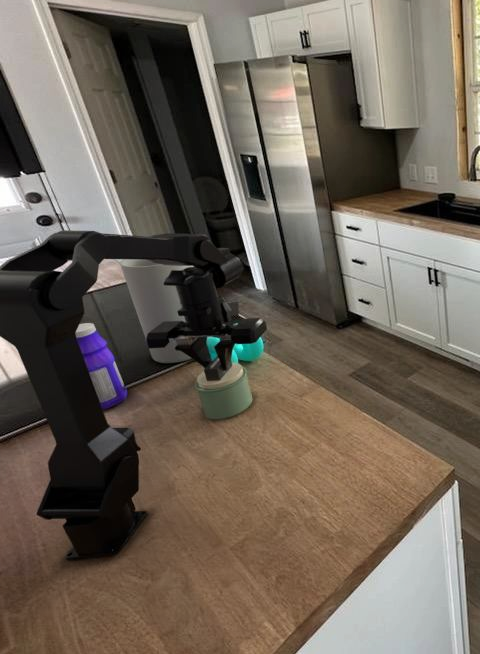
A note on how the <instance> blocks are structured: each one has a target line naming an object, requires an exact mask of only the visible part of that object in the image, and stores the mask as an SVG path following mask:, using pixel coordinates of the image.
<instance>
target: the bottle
mask: <svg viewBox="0 0 480 654" xmlns="http://www.w3.org/2000/svg"><path fill="white" fill-rule="evenodd" d="M76 338H77V340H78V343H79V346H80V349H81V351H82V354H83V357H84V360H85V362H86V365H87V368H88V371H89V373H90V376H91V379H92V382H93V384H94V387H95V390H96V393H97V395H98V398H99V401H100V404H101V406H102V409H103V410H106V409H109V408H111V407H113V406H117V405H118V404H120V403H123V402H124V401H125V400H126V399H127V397H128V389H127V388H126V386H125V384H124V381H123V379H122V375H121V374H120V371H119V369H118V365H117V363H116V360H115V356H114V355H113V353H112V352H111V350H110V349H109V348H108V346H107V345H108V341H107V339H104V338H103V337H102V336H100V334H99V332H98V331H97V328H96V326H95V324H94V323H93V322H86V323H84V322H83V323H80V324H79V326H78V328H77V331H76Z"/></svg>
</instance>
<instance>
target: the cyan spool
mask: <svg viewBox="0 0 480 654" xmlns="http://www.w3.org/2000/svg"><path fill="white" fill-rule="evenodd" d="M238 323H239V322H236V323H234V324H238ZM219 341H220V339H219V337H217V336H215V337H209V338H207V346H208V349H209V353H210V356H211V359H212V361H213V360H214V359H215V358H216V356H218V355H217V353H216V351H215V348H214V346H215V345H216V344H217V343H218V342H219ZM263 352H264V342H263V339H262V336H261V337H260V338H259V339H258V340H257V342H255V343H252V344H235V345H234V347H233V351H232V356H231V362H232V363H238V364H239V360H241V361H243V362H253V361H256V360H258V359H259V358H261V356H262V354H263ZM202 369H203V370H204V369H205V368H204V367H202Z"/></svg>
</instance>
